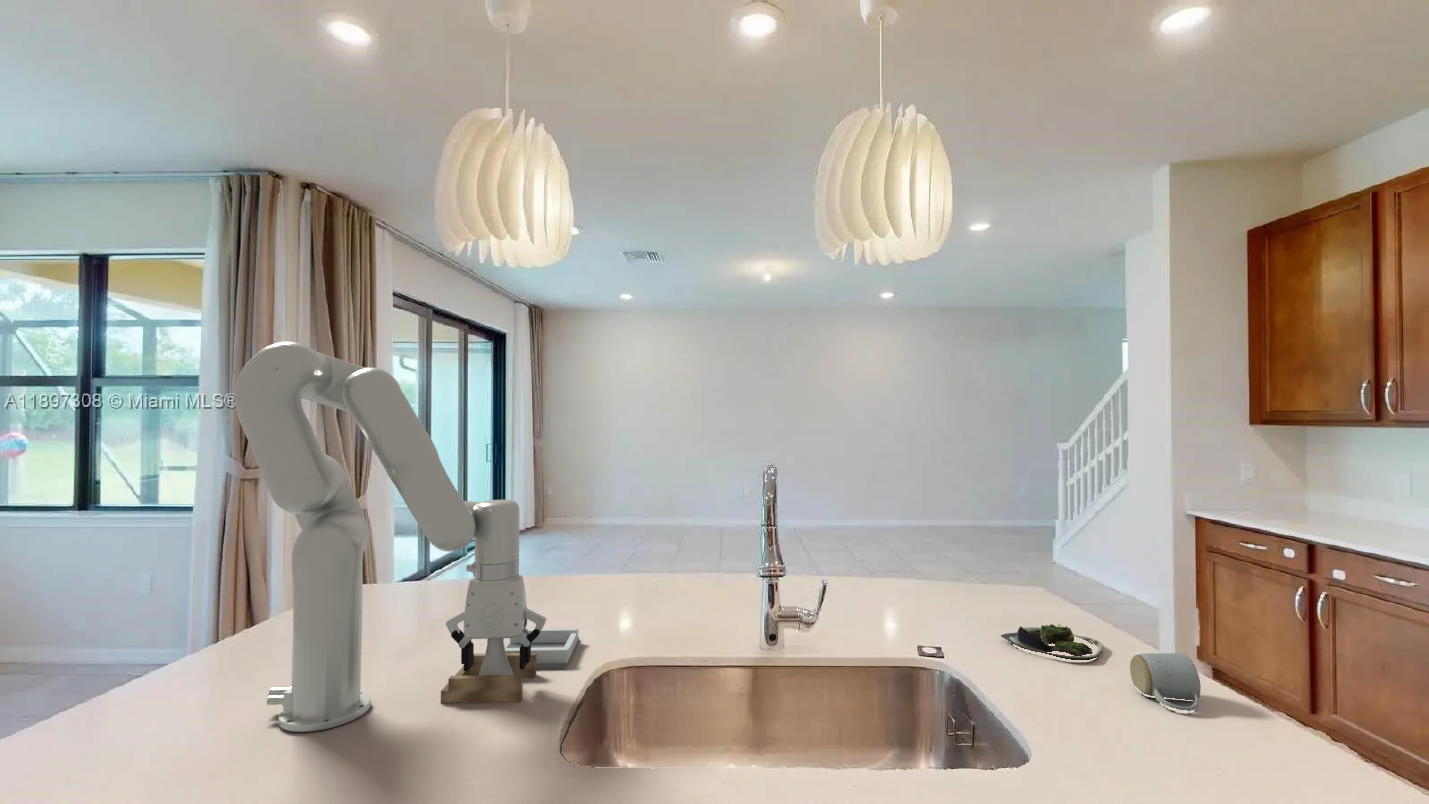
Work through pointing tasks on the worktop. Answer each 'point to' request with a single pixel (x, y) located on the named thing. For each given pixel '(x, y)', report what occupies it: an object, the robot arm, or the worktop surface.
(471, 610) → the robot arm
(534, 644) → the dock
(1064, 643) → the salad plate
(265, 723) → the worktop surface
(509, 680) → the wooden u-shaped bracket
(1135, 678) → the ceramic mug
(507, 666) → the flask
